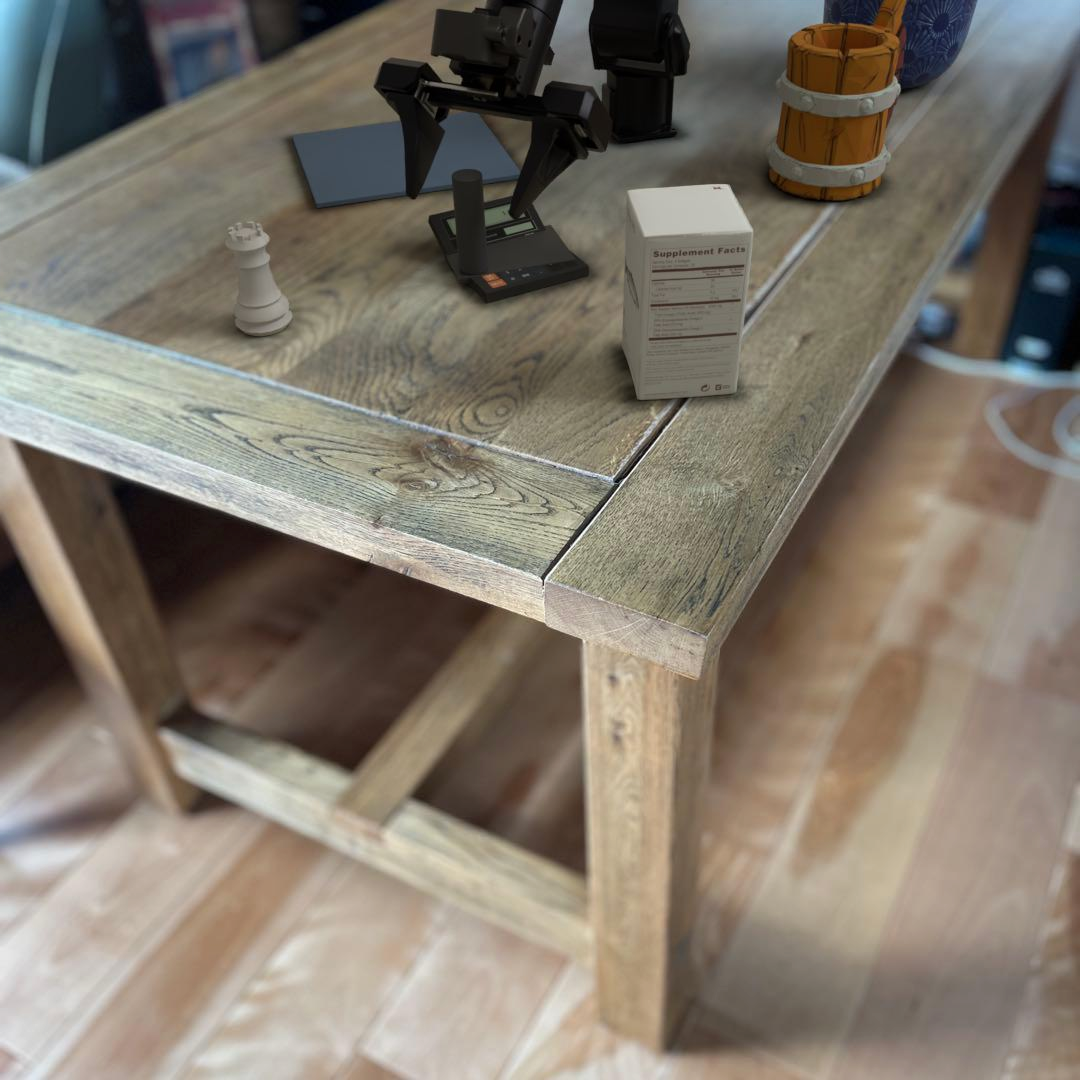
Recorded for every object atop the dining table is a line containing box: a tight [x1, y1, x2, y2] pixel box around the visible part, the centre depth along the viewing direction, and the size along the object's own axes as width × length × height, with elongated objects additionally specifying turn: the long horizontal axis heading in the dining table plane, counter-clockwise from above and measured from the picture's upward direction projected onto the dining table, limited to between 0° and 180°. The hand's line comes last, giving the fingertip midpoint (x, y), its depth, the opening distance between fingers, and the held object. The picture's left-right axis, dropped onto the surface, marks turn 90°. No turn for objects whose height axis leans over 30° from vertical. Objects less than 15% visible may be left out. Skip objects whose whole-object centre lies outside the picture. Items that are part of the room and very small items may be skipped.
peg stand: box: [446, 169, 576, 284], centre depth 92 cm, size 10×7×8 cm
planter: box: [822, 0, 979, 90], centre depth 122 cm, size 17×17×15 cm
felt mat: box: [291, 111, 521, 209], centre depth 112 cm, size 20×18×1 cm
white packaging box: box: [621, 183, 755, 401], centre depth 77 cm, size 7×7×13 cm
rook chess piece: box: [224, 220, 293, 337], centre depth 85 cm, size 4×4×8 cm
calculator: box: [427, 195, 590, 304], centre depth 94 cm, size 9×12×3 cm
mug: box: [765, 0, 907, 202], centre depth 102 cm, size 11×16×15 cm, turn 137°
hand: (460, 207), depth 87 cm, fingers open, 9 cm apart
